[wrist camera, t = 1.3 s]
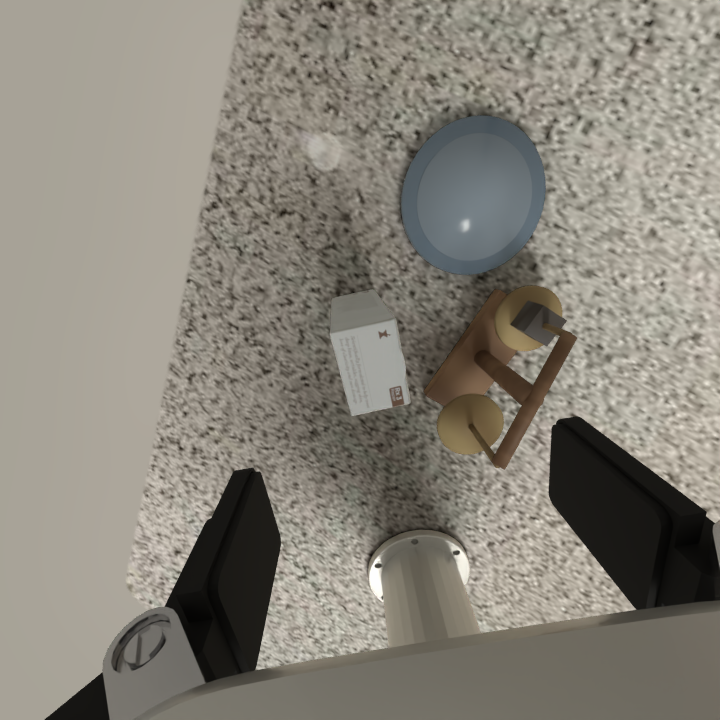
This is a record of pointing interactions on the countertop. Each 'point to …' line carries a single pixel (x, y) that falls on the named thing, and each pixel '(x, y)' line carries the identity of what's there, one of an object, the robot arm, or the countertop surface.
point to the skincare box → (368, 352)
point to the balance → (498, 371)
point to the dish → (473, 195)
